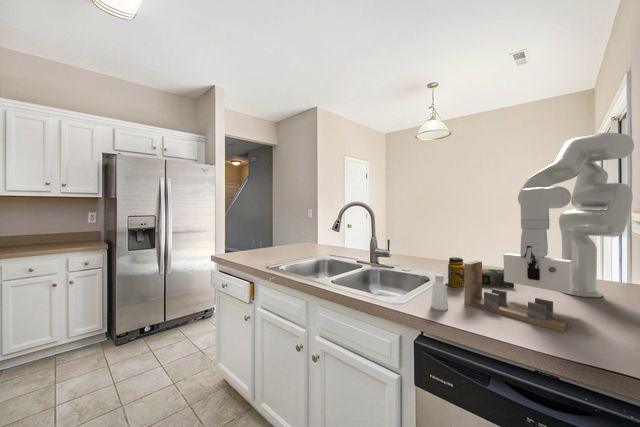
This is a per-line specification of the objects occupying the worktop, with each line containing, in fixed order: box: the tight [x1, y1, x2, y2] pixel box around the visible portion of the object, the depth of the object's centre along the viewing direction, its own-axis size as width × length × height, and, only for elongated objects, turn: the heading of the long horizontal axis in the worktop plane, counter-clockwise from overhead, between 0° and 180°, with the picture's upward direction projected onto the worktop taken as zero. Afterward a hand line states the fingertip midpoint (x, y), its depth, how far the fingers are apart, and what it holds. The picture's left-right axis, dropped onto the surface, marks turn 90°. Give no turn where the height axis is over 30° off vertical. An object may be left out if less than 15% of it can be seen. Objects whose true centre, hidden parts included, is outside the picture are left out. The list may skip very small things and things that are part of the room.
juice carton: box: [482, 268, 515, 288], centre depth 117 cm, size 20×10×6 cm, turn 71°
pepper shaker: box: [430, 273, 449, 311], centre depth 90 cm, size 5×5×11 cm
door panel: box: [503, 252, 573, 295], centre depth 91 cm, size 4×18×10 cm, turn 34°
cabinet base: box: [463, 260, 573, 333], centre depth 84 cm, size 8×26×14 cm, turn 34°
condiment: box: [444, 256, 464, 290], centre depth 112 cm, size 7×8×12 cm
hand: (535, 277), depth 91 cm, fingers closed on door panel, 3 cm apart
